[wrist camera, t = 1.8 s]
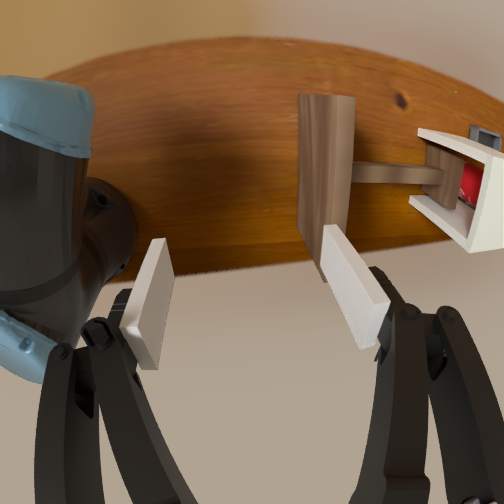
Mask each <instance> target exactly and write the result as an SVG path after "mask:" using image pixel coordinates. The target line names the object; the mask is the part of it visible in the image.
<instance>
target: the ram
mask: <svg viewBox="0 0 504 504" xmlns="http://www.w3.org/2000/svg"><path fill="white" fill-rule="evenodd" d="M354 125H355V97H350V96H340V95H317V94H298V206H297V228H298V230H299V232H300V234H301V236H302V238H303V240H304V242H305V244H306V246H307V248H308V250H309V252H310V254H311V256H312V259H313V261H314V263H315V265H316V267H317V269H318V271H319V273H320V275H321V278H322V280H323V282H324V283H325V282H328V281H327V279H326V277H325V275H324V273H323V271H322V269H321V267H320V261H321V251H322V241H323V230H324V225H334V224H337V226H338V227H339V228H340V230H341V231H342V232H343V234H344V235H345V233H346V225H347V216H348V208H349V198H350V188H351V183H407V184H422V187H421V190H422V191H423V192H425V193H426V194H428V195H429V196H431V197H432V198H434V199H435V200H437V201H438V202H440V203H441V204H443V205H444V206H445V207H447V208H448V209H450V210H455V209H456V204H457V200H458V195H459V191H460V186H461V181H462V175H463V169H464V163H465V159H464V158H462V157H459V156H457V155H455V154H453V153H450V152H448V151H446V150H443V149H441V148H438V147H436V146H433V145H427V152H426V160H425V165H415V164H403V163H387V162H367V161H353V147H354Z"/></svg>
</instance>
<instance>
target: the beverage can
mask: <svg viewBox="0 0 504 504" xmlns="http://www.w3.org/2000/svg"><path fill="white" fill-rule="evenodd" d="M483 173H484V170H482V169H480V168H478V167H476V166H474V165H472V164H470V163H468V162H466V161H465V163H464V169H463V175H462V181H461V186H460V191H459V195H458V196H459V197H461V198H463V199H464V200H466V201H467V202H469V203H470V204H472V205H473V206H474V207H476V206H477V202H478V197H479V193H480V188H481V183H482V178H483Z"/></svg>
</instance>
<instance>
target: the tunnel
mask: <svg viewBox="0 0 504 504" xmlns="http://www.w3.org/2000/svg"><path fill="white" fill-rule="evenodd" d="M418 136H419V137H422V138H425V139H428V140H430V141H433V142H436V143H438V144H441V145H443V146H446V147H448V148H451V149H453V150H455V151H458V152H460V153H462V154H465V155H467V156H469V157H471V158H474V159H476V160H478V161H480V162H482V163H484V164H485V167H484V173H483V178H482V183H481V188H480V193H479V197H478V202H477V206H476V210H475V211H474V210H473V209H472V208H470V207H469V206H467V205H466V204H464V203H463V202H461V201H460V200H457V204H456V209H455V210H450V209H448V208H447V207H445V206H444V205H443V204H441V203H440V202H438V201H437V200H435V199H434V198H432V197H431V196H425V195H410V198H409V203H410V204H411V205H412V206H414V207H415V208H416V209H417V210H419V211H420V212H421V213H423V214H424V215H425V216H426V217H428V218H429V219H430V220H431V221H432V222H434V223H435V224H436V225H437V226H439V227H440V228H441V229H442V230H443V231H444V232H446V233H447V234H448V235H449V236H450V237H451V238H453V239H454V240H455V241H456V242H457V243H458V244H459V245H461V247H463V248H464V249H465V250H466V251H467V252H468V253H475V252H481V251H488V250H494V249H500V248H504V154H503V153H501V152H499V151H497V150H494V149H492V148H490V147H487V146H485V145H482V144H480V143H477V142H475V141H472V140H470V139H467V138H464V137H461V136H456V135H452V134H448V133H443V132H438V131H433V130H428V129H422V128H418Z"/></svg>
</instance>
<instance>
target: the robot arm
mask: <svg viewBox="0 0 504 504" xmlns="http://www.w3.org/2000/svg"><path fill="white" fill-rule="evenodd" d="M94 116H95V102H94V99H93V97H92V95H91V93H90V92H89V91H88V90H86V89H85V88H83V87H81V86H77V85H73V84H69V83H64V82H58V81H52V80H46V79H39V78H31V77H23V76H11V75H0V365H1V366H2V367H4V368H5V369H7V370H8V371H10V372H12V373H13V374H15V375H17V376H19V377H21V378H23V379H26V380H28V381H31V382H34V383H38V384H43V385H42V390H41V397H40V403H39V410H38V418H37V428H36V439H35V458H34V488H35V504H105V501H104V493H103V485H102V475H101V463H100V447H99V404H100V408H101V412H102V416H103V420H104V424H105V427H106V430H107V434H108V438H109V441H110V444H111V447H112V451H113V454H114V456H115V459H116V462H117V465H118V468H119V471H120V473H121V476H122V479H123V481H124V484H125V486H126V488H127V490H128V493H129V495H130V498H131V500H132V502H133V504H198V503H197V501H196V499H195V498H194V496H193V494H192V492H191V491H190V489H189V487H188V486H187V484H186V482H185V480H184V478H183V476H182V474H181V473H180V471H179V469H178V467H177V465H176V463H175V461H174V459H173V457H172V455H171V453H170V451H169V449H168V447H167V445H166V443H165V440H164V438H163V436H162V434H161V431H160V429H159V427H158V424H157V422H156V420H155V417H154V415H153V412H152V410H151V407H150V405H149V402H148V400H147V397H146V394H145V392H144V389H143V386H142V384H141V381H140V378H139V375H138V374H137V372H136V367H137V362H138V364H139V366H140V368H141V369H142V370H158V365H159V359H160V353H161V347H162V341H163V335H164V330H165V325H166V319H167V314H168V309H169V304H170V299H171V294H172V289H173V284H174V280H175V276H174V272H173V268H172V264H171V260H170V255H169V251H168V246H167V242H166V238H159V239H153V240H152V242H151V244H150V247H149V249H148V251H147V254H146V256H145V258H144V261H143V263H142V266H141V268H140V271H139V273H138V276H137V279H136V281H135V284H134V287H133V288H131V289H123V290H122V291H121V292H120V293H119V294H118V295H117V296H116V298H115V301H114V303H113V306H112V308H111V311H110V313H109V316H108V318H107V319H106V318H104V317H96V318H93V319H90V320H89V321H87V319H88V317H89V314H90V312H91V310H92V308H93V306H94V303H95V301H96V299H97V297H98V295H99V293H100V291H101V289H102V287H104V286H105V285H106V284H107V283H109V282H110V281H111V280H113V279H114V278H115V277H116V276H118V275H119V274H120V273H121V272H122V271H123V270H124V269H125V268H126V267H127V265H128V264H129V262H130V260H131V258H132V256H133V254H134V252H135V249H136V245H137V239H138V231H137V224H136V220H135V217H134V214H133V212H132V210H131V208H130V206H129V204H128V203H127V201H126V200H125V199H124V198H123V196H122V195H121V194H120V193H119V192H118V191H117V190H116V189H114V188H113V187H112V186H110V185H109V184H107V183H105V182H103V181H101V180H99V179H95V178H91V177H86V174H87V167H88V160H89V157H91V154H92V148H91V137H92V129H93V122H94ZM320 267H321V269H322V271H323V273H324V275H325V277H326V279H327V281H328V283H329V285H330V287H331V289H332V291H333V293H334V296H335V298H336V300H337V302H338V304H339V306H340V308H341V311H342V313H343V315H344V317H345V319H346V321H347V324H348V326H349V328H350V330H351V333H352V335H353V337H354V339H355V341H356V344H357V346H358V348H359V349H364V348H369V347H374V345H375V343H376V340H377V338H378V340H379V342H380V344H381V346H380V348H379V350H378V352H377V355H376V357H375V360H374V361H377V359H378V364H377V376H376V386H375V394H374V403H373V409H372V416H371V423H370V429H369V434H368V440H367V445H366V450H365V454H364V459H363V464H362V468H361V472H360V476H359V480H358V484H357V487H356V490H355V491H354V493H353V495H352V497H351V499H350V501H349V504H428V499H429V493H430V480H429V478H428V477H427V476H425V473H424V468H425V459H426V449H427V435H428V434H427V433H428V393H429V397H430V401H431V405H432V410H433V414H434V418H435V423H436V428H437V433H438V438H439V444H440V450H441V456H442V463H443V470H444V478H445V487H446V495H447V500H448V504H504V421H503V417H502V414H501V411H500V407H499V404H498V401H497V398H496V395H495V392H494V390H493V387H492V384H491V381H490V379H489V376H488V374H487V371H486V369H485V366H484V364H483V361H482V359H481V357H480V354H479V352H478V350H477V348H476V345H475V344H474V341H473V339H472V337H471V335H470V333H469V331H468V329H467V327H466V325H465V323H464V321H463V319H462V317H461V315H460V314H459V312H458V311H457V310H456V309H454V308H453V307H450V306H441V307H440V308H439V309H438V310H437V313H436V314H425V313H421V311H420V310H419V308H418V307H416V306H414V305H412V304H409V303H405V301H404V300H403V299H402V297H401V296H400V294H399V293H398V291H397V290H396V288H395V287H394V286H393V285H392V283H391V281H390V280H388V277H387V276H386V275H385V273H384V272H383V271H382V270H380V269H379V268H377V267H376V266H374V267H367V266H366V264H365V263H364V261H363V260H362V258H361V257H360V256H359V254H358V253H357V251H356V250H355V249H354V247H353V246H352V245H351V243H350V242H349V240H348V239H347V238H346V236H345V235H344V234H343V232H342V231H341V230H340V228H339V227H338V226H337V224H334V225H324V230H323V241H322V251H321V261H320ZM86 321H87V322H86ZM80 335H81V336H82V337H83V339H84V341H85V342H86V344H87V346H86V347H82V348H78V349H75V348H76V345H77V343H78V340H79V338H80ZM445 353H446V354H445Z"/></svg>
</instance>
